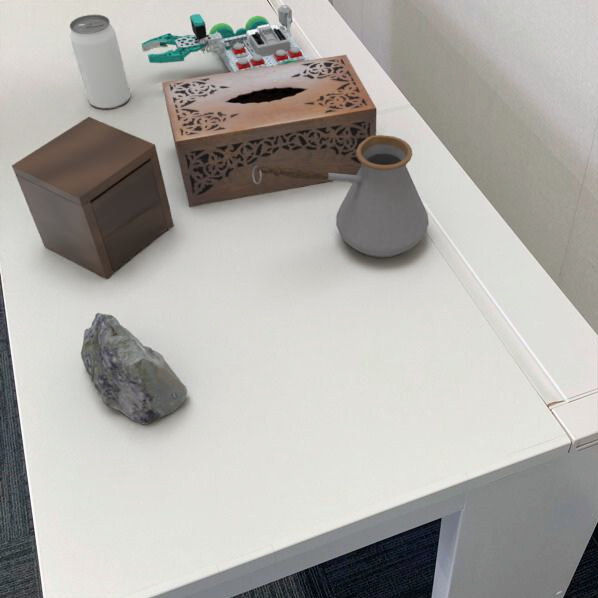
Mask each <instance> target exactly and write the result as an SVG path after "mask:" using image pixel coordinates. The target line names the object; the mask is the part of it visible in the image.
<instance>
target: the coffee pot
mask: <svg viewBox="0 0 598 598" xmlns="http://www.w3.org/2000/svg"><path fill="white" fill-rule="evenodd" d="M356 156H357V158H358V160H359V161H360V162H361V164H362V166H361V168H360V170H359V171H358V173H357V175H348V174H336V173H328V172H323V171H317V170H312V169H306V168H300V167H287V168H281V167H280V166H279V165H276V166H274V167H269V166H267V165H265V166H254V168H253V172H252V177H253V181H254V183H255V184H260V182H261V178H262V173H265V174H268V173H273V174H274V175H275V176H279V175H280V174H281V175H284V176H288V177H292V178H295V179H317V180H327V179H328V180H335V181H337V182H341V183H342V182H343V183H351V185H350V187H349V189H348V191H347V193H346V195H345V196H344V199H343V201H342V202H341V204H340V206H339V208H338V210H337V213H336V216H335V217H336V218H335V221H336V222H335V224H336V228H337V230H338V232H339V234H340V236H341V237H342V240H344V241H345V242H346V244H347V245H348V246H350V247H352V248H353V249H355V250H356V251H358V252H360V253H362V254H364V255H366V256H370V257H372V258H373V257H374V258H391V257H396V256H398V255H400V254H403V253H404V252H407V251H410V250H411V249H412V248H414V247H415V246H416V245H418V244H419V242H420V241H421V240H422V239H423V237H424V236H425V235H426V233H427V230H428V227H429V223H430V222H429V215H428V212H427V209H426V207H425V204H424V202H423V200H422V199H421V196H420V195H419V192H418V189H417V188H416V185H415V183H414V180H413V179H412V175H411V174H410V172H409V170H408V167H407V165H408V163H409V162H410V161H411V159H412V157H413V150H412V147H411V145H410V144H409V143H408V142H407V141H405V140H403V139H402V138H400V137H396V136H392V135H382V134H378V135H377V134H376V135H372V136H370V137H368V138H367V139H365V140H364V141H363V142H361V143H360V145H359V146H358V148H357V150H356ZM256 167H257V171H258V172H260V179H259V182H258V183H256V182H255V178H254V171H255V168H256ZM335 181H334V182H335Z"/></svg>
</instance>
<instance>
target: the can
mask: <svg viewBox="0 0 598 598" xmlns="http://www.w3.org/2000/svg"><path fill="white" fill-rule="evenodd" d="M69 29H70V33H69V39H70V43H71V46H72V50H73V54H74V57H75V60H76V64H77V67H78V71H79V74H80V78H81V81H82V85H83V88H84V91H85V94H86V98H87V101H88V102H89V104H90V105H92V106H93V107H95V108H97V109H101V110H111V109H116V108H119V107H121V106H123V105H125V104H126V103H127V102H128V101H129V99H130V97H131V91H130V86H129V82H128V78H127V74H126V70H125V65H124V62H123V57H122V53H121V48H120V45H119V42H118V41H119V40H118V38H117V33H116V31H115V29H114V27H113V26H112V24H111V20H110V19H109V18H108V17H107V16H106V15H102V14H97V13H95V14H85V15H82V16H78V17H76V18H74V19H73V20H71V21H70V24H69Z"/></svg>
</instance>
